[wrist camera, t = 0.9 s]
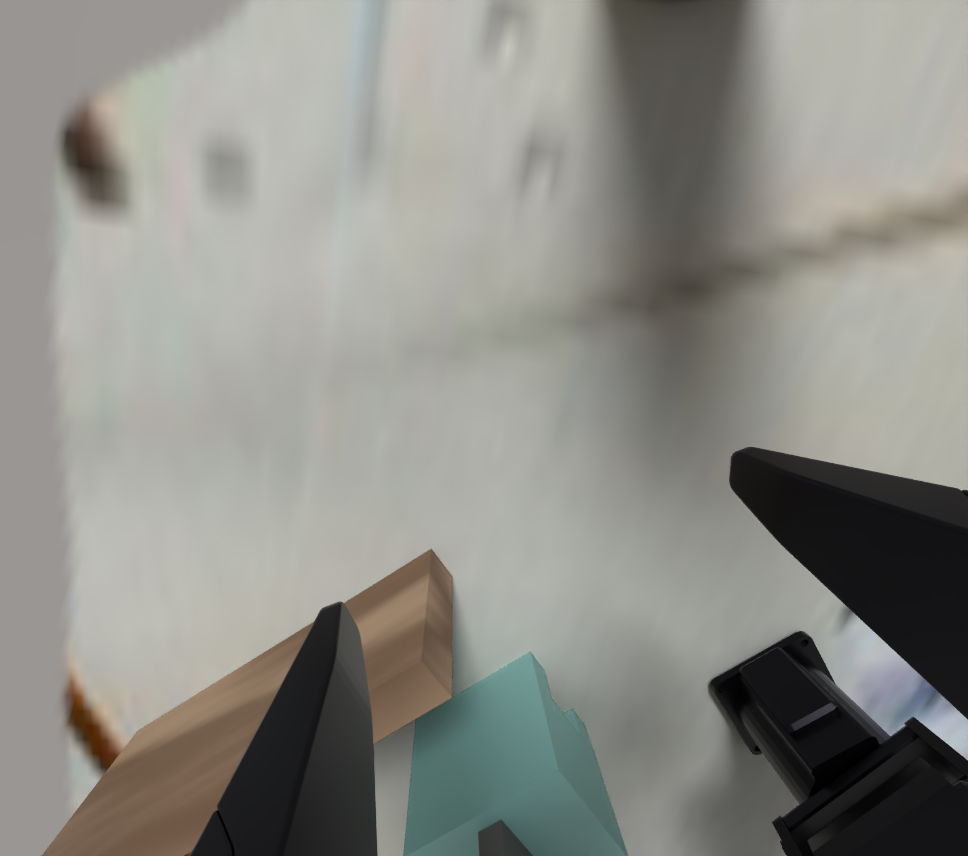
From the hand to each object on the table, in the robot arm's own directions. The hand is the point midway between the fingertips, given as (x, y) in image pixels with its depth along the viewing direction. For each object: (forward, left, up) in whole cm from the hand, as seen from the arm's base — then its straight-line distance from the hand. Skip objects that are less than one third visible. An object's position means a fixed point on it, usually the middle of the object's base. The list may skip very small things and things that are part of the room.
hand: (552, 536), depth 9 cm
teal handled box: (-16, +10, -13) cm, 23 cm away
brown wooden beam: (-8, +17, -13) cm, 23 cm away
